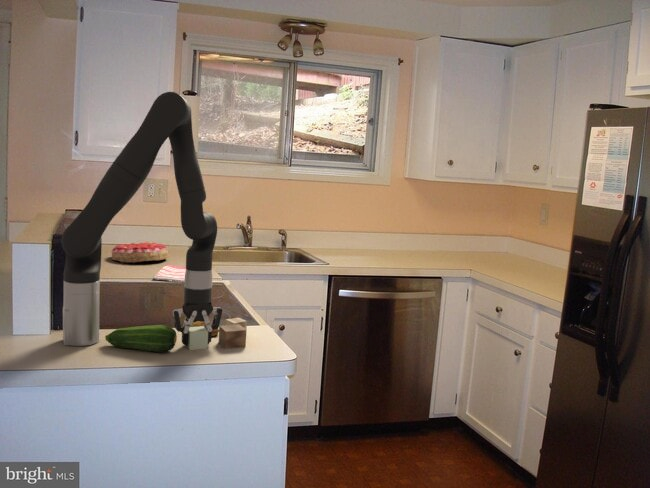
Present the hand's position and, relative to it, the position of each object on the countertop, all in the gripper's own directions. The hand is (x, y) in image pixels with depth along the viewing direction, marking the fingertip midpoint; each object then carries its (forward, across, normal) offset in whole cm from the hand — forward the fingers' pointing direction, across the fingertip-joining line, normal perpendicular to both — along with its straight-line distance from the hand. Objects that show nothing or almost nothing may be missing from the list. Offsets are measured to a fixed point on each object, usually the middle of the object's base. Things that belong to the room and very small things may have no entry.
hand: (196, 344), depth 184 cm
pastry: (+1, +6, +12) cm, 14 cm away
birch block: (+1, +14, +8) cm, 16 cm away
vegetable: (+1, -15, +2) cm, 15 cm away
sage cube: (+1, 0, 0) cm, 1 cm away
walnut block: (+1, +10, -1) cm, 10 cm away
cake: (+1, +8, +132) cm, 132 cm away
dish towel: (+1, +17, +94) cm, 96 cm away
